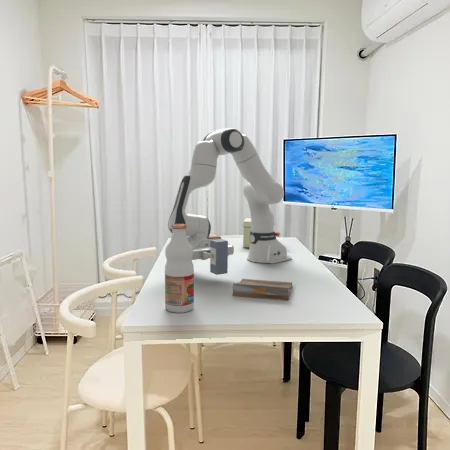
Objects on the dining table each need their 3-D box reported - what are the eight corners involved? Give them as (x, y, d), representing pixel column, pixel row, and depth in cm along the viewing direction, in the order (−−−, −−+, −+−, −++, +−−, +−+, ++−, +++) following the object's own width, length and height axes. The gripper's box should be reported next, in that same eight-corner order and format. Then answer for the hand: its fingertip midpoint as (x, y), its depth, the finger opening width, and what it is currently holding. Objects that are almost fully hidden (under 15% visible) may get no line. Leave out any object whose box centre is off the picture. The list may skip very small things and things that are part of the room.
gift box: (276, 248, 242) (276, 218, 240) (242, 248, 242) (243, 217, 240) (273, 243, 259) (273, 214, 256) (242, 242, 259) (242, 214, 257)
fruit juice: (164, 304, 147) (163, 223, 143) (191, 303, 149) (191, 222, 145) (166, 314, 138) (165, 227, 134) (195, 312, 140) (195, 226, 136)
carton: (220, 270, 176) (221, 238, 174) (227, 273, 172) (227, 240, 170) (209, 272, 173) (209, 240, 172) (215, 275, 169) (216, 242, 167)
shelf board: (242, 282, 175) (242, 271, 174) (292, 286, 171) (292, 274, 170) (232, 295, 157) (232, 283, 157) (287, 300, 153) (288, 288, 152)
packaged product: (224, 235, 257) (209, 236, 253) (224, 243, 258) (209, 245, 253) (212, 231, 273) (197, 232, 269) (212, 238, 274) (197, 239, 269)
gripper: (180, 244, 177) (196, 250, 165) (223, 239, 187) (241, 244, 176) (180, 259, 178) (196, 266, 166) (223, 253, 188) (241, 259, 177)
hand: (219, 255), depth 171 cm, fingers closed on carton, 5 cm apart
